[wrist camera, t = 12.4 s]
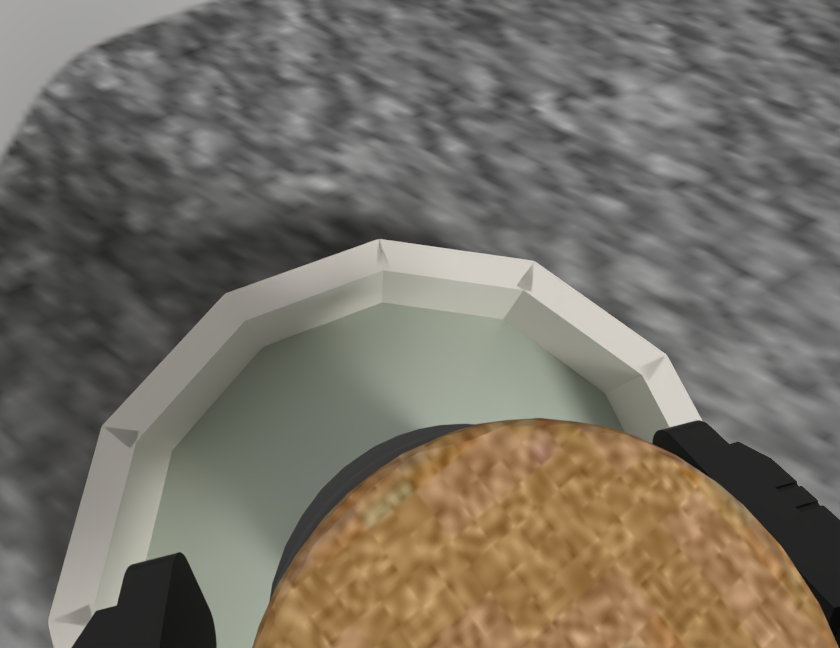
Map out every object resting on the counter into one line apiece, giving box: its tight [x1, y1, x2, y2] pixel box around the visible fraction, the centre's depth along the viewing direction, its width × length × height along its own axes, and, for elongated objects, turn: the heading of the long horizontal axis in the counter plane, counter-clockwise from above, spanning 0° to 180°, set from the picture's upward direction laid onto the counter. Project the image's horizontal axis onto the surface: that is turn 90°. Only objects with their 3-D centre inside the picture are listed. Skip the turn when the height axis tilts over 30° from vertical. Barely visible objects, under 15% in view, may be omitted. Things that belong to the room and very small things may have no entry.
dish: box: [48, 239, 702, 648], centre depth 18 cm, size 18×18×4 cm
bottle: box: [252, 418, 839, 648], centre depth 11 cm, size 6×6×15 cm
